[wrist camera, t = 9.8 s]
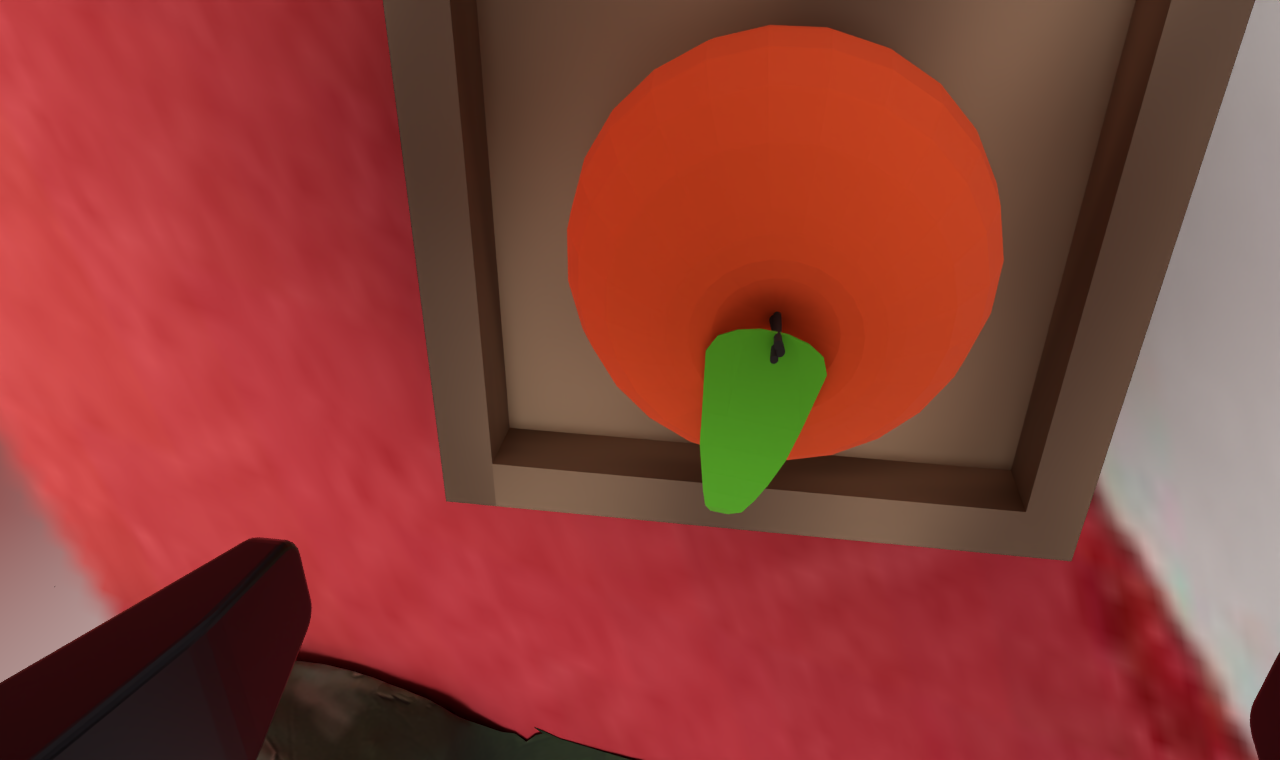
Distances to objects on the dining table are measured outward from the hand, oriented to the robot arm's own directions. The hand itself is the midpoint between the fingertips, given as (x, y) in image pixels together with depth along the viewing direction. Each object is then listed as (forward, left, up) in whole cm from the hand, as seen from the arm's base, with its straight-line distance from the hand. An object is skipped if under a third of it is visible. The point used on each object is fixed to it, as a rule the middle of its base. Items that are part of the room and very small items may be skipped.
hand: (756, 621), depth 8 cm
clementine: (0, 0, -12) cm, 12 cm away
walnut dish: (0, 0, -12) cm, 12 cm away
